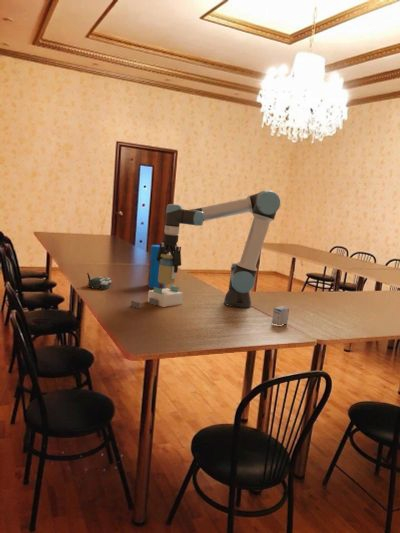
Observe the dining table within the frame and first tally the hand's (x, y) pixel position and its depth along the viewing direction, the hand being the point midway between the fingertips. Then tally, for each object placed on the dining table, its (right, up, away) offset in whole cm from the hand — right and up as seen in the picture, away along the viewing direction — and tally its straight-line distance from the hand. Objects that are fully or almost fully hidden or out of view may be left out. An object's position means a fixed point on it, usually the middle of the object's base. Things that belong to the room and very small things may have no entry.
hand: (167, 276), depth 242 cm
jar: (-1, -4, 0) cm, 4 cm away
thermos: (-10, -7, +40) cm, 42 cm away
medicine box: (+56, -23, -18) cm, 63 cm away
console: (-6, -14, -3) cm, 16 cm away
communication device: (-41, -6, +28) cm, 50 cm away
